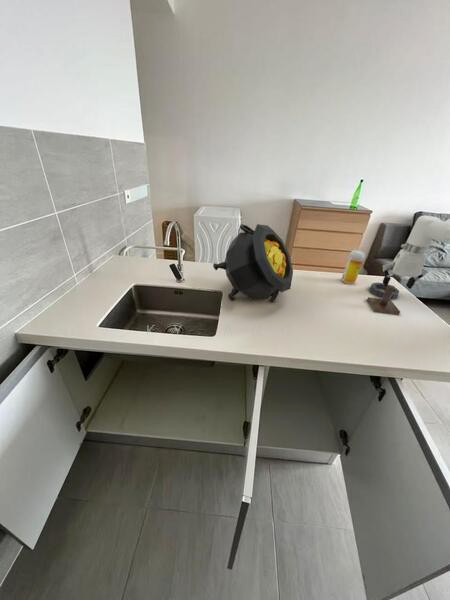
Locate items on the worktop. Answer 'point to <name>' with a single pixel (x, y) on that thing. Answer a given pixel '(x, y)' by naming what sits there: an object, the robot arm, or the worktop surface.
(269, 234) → the cauldron
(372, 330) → the worktop surface
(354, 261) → the beer can
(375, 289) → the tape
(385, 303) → the peg stand
